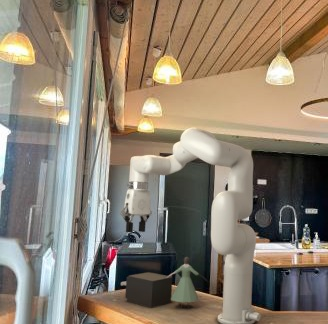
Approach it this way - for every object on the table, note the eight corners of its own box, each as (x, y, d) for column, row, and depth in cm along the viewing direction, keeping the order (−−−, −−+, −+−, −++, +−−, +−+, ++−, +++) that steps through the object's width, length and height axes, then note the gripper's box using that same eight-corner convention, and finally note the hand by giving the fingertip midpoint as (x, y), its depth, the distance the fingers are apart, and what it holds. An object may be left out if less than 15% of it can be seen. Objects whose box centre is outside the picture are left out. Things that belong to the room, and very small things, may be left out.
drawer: (116, 295, 149) (118, 275, 149) (134, 291, 156) (136, 272, 156) (147, 303, 139) (148, 282, 140) (165, 299, 146) (166, 278, 147)
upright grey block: (126, 301, 144) (128, 275, 145) (146, 296, 153) (148, 272, 153) (151, 307, 137) (152, 281, 138) (171, 302, 145) (172, 276, 146)
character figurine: (209, 304, 144) (211, 255, 146) (207, 310, 136) (209, 259, 137) (167, 303, 144) (170, 254, 145) (162, 309, 135) (165, 257, 137)
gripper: (127, 185, 145) (123, 234, 143) (160, 187, 159) (158, 231, 158) (114, 185, 149) (111, 232, 148) (148, 187, 164) (145, 230, 162)
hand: (135, 231), depth 153 cm, fingers open, 5 cm apart
